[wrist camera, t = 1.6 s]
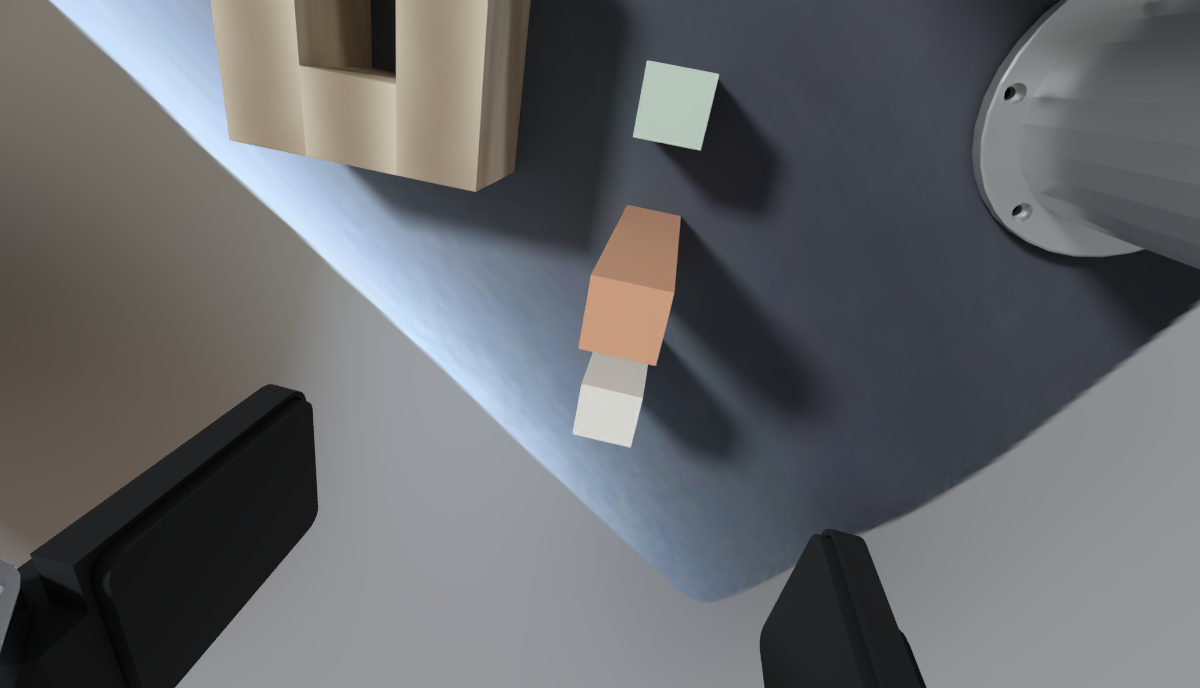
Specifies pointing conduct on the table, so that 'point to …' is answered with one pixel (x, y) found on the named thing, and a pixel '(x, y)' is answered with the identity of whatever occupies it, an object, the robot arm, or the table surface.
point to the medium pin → (610, 399)
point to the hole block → (378, 84)
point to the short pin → (675, 105)
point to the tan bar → (633, 287)
